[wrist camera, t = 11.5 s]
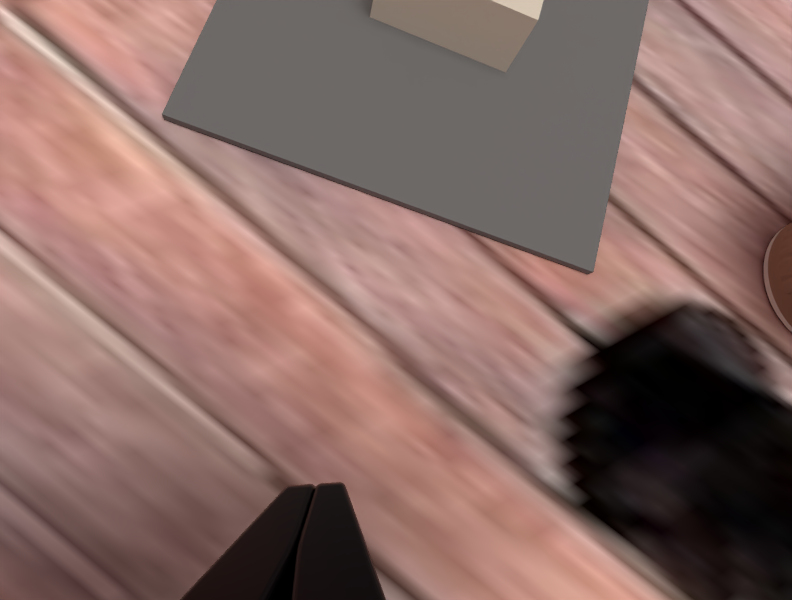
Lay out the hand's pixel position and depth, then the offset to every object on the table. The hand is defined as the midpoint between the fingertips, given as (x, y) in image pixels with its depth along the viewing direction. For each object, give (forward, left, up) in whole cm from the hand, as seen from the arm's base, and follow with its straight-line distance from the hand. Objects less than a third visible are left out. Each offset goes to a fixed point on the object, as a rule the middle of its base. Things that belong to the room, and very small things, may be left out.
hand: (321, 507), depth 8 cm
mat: (+12, -21, -13) cm, 27 cm away
